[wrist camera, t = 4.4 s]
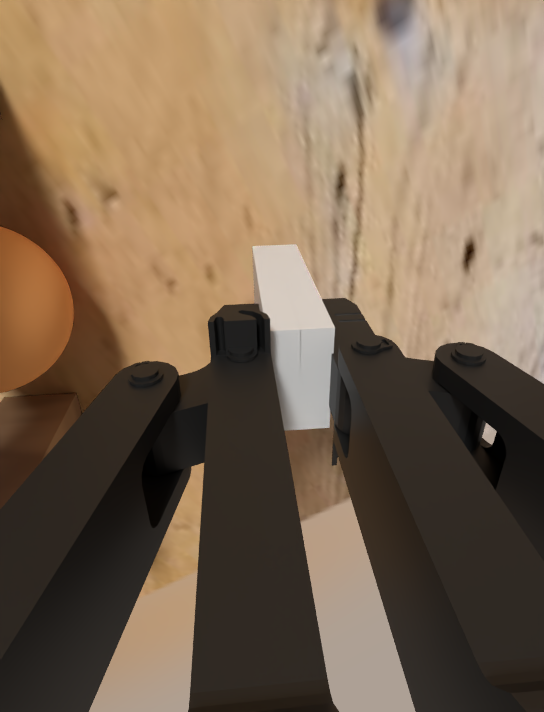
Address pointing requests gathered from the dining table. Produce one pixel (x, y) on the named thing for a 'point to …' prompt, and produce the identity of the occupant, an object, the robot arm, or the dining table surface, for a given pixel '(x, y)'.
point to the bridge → (31, 434)
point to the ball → (30, 311)
